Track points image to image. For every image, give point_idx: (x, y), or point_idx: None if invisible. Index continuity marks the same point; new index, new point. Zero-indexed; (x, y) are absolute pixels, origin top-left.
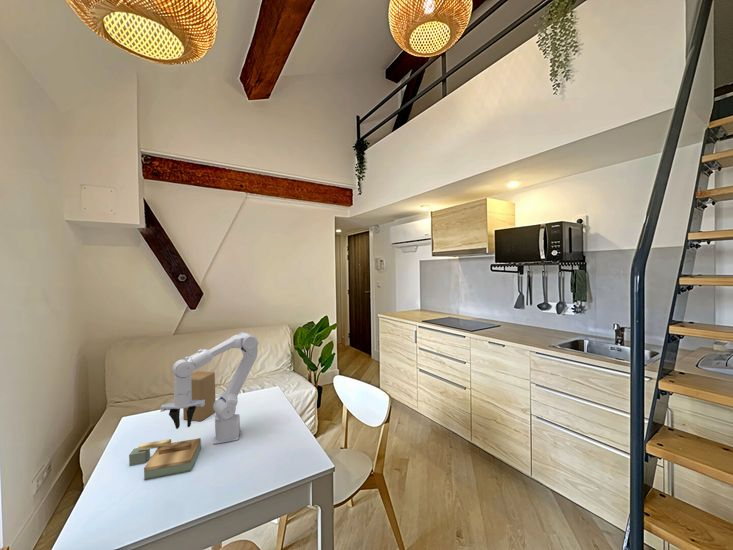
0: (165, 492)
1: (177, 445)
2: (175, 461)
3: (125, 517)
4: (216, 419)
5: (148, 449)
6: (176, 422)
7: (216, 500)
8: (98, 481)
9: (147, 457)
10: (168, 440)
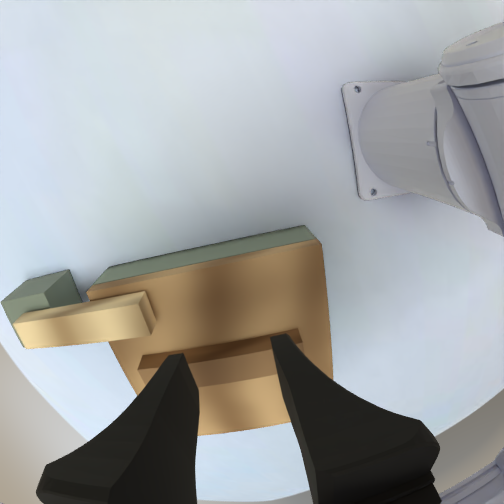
0: (279, 442)
1: (229, 367)
2: (272, 421)
3: (226, 479)
4: (462, 201)
5: (54, 303)
6: (192, 451)
7: None
8: (32, 376)
9: (74, 301)
10: (133, 320)
